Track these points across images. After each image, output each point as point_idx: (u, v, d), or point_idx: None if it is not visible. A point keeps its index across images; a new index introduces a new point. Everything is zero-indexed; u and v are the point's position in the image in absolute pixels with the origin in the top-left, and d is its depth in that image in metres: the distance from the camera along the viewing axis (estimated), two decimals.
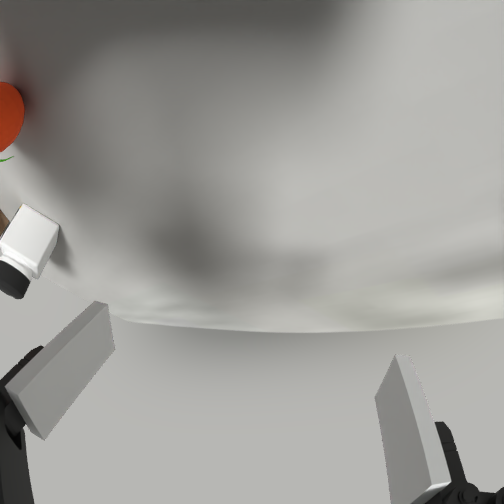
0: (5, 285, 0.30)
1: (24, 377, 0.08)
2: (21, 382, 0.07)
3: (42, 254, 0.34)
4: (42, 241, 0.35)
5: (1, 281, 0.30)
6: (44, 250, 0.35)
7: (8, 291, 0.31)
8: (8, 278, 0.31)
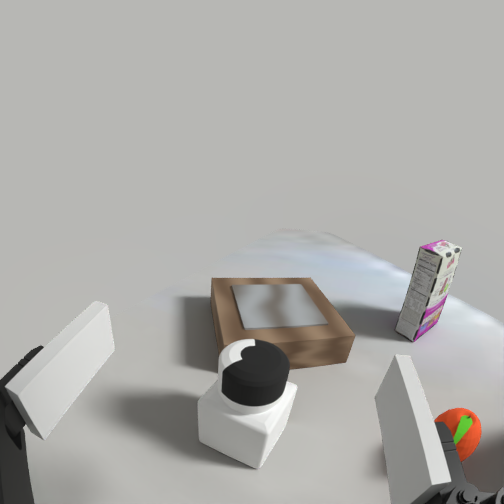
0: (282, 371, 0.23)
1: (24, 377, 0.08)
2: (21, 382, 0.07)
3: (265, 444, 0.23)
4: (268, 445, 0.24)
5: (287, 368, 0.24)
6: (264, 447, 0.23)
7: (268, 368, 0.23)
8: (284, 382, 0.24)
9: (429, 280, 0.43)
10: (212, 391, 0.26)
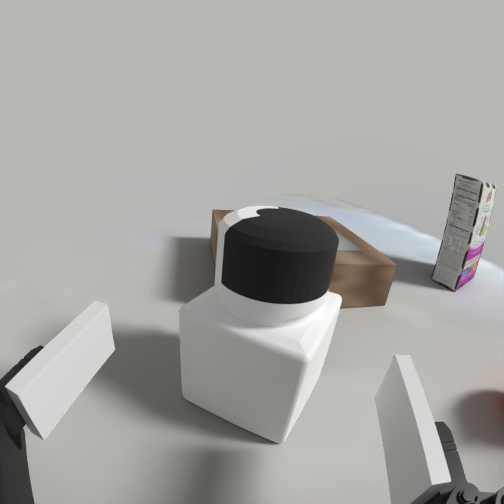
0: (330, 236, 0.14)
1: (24, 377, 0.08)
2: (21, 382, 0.07)
3: (300, 387, 0.13)
4: (302, 396, 0.15)
5: (336, 237, 0.15)
6: (297, 395, 0.14)
7: (306, 227, 0.14)
8: (332, 260, 0.14)
9: (470, 211, 0.33)
10: (206, 295, 0.16)
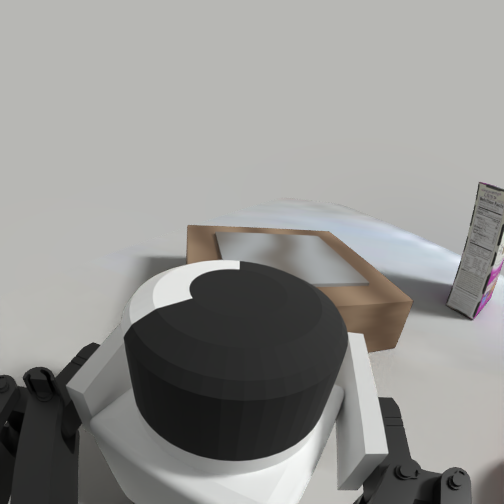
0: (332, 343, 0.07)
1: (86, 375, 0.09)
2: (84, 380, 0.08)
3: None
4: None
5: (344, 335, 0.07)
6: None
7: (282, 330, 0.06)
8: (334, 381, 0.07)
9: (495, 227, 0.26)
10: (129, 400, 0.09)
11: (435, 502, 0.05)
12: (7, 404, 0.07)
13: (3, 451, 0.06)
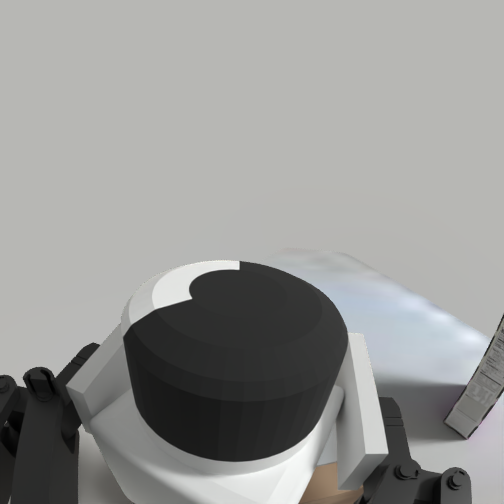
0: (332, 344, 0.07)
1: (86, 375, 0.09)
2: (84, 380, 0.08)
3: None
4: None
5: (344, 335, 0.07)
6: None
7: (282, 331, 0.06)
8: (333, 382, 0.07)
9: None
10: (128, 400, 0.09)
11: (435, 502, 0.05)
12: (7, 404, 0.07)
13: (3, 451, 0.06)
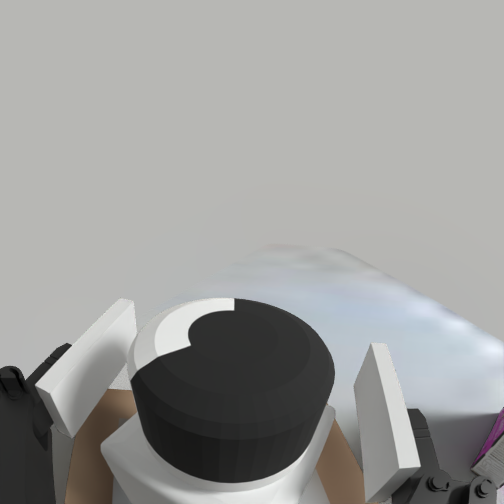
0: (318, 384, 0.07)
1: (55, 375, 0.08)
2: (52, 380, 0.08)
3: None
4: None
5: (330, 373, 0.08)
6: None
7: (272, 375, 0.07)
8: (320, 414, 0.07)
9: None
10: (135, 425, 0.10)
11: None
12: None
13: None
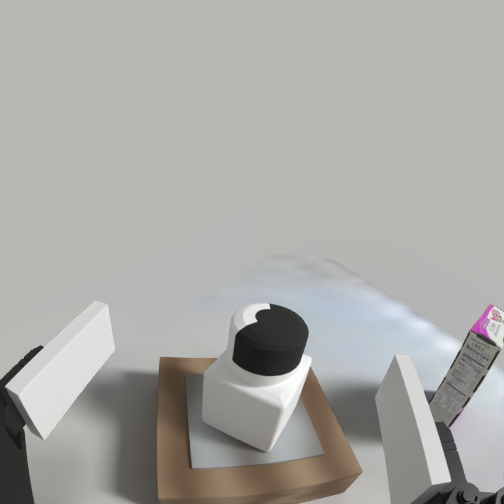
0: (302, 336, 0.22)
1: (24, 377, 0.08)
2: (21, 382, 0.07)
3: (280, 421, 0.21)
4: (281, 424, 0.22)
5: (306, 333, 0.22)
6: (278, 425, 0.21)
7: (286, 331, 0.22)
8: (302, 349, 0.22)
9: (475, 376, 0.25)
10: (220, 361, 0.24)
11: None
12: None
13: None
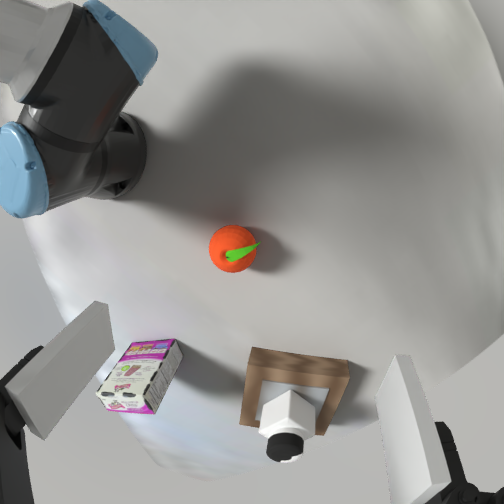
0: (274, 448, 0.41)
1: (24, 377, 0.08)
2: (21, 382, 0.07)
3: (288, 410, 0.46)
4: (284, 405, 0.47)
5: (270, 448, 0.41)
6: (288, 407, 0.46)
7: (281, 451, 0.41)
8: (274, 442, 0.42)
9: (155, 382, 0.47)
10: (305, 438, 0.45)
11: None
12: None
13: None
